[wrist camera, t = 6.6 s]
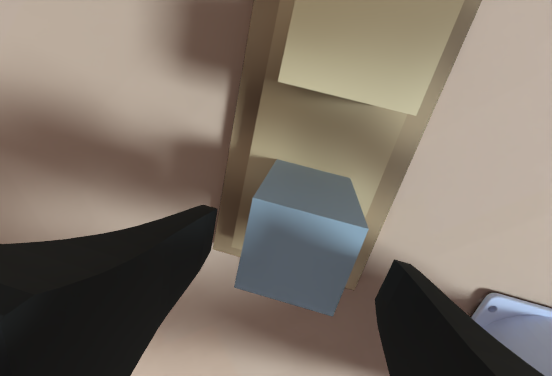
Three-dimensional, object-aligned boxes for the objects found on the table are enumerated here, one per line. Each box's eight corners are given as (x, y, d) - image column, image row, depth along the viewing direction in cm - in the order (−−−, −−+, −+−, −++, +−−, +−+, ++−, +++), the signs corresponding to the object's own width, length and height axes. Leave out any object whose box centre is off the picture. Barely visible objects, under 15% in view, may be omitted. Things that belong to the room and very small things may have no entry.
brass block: (375, 106, 12) (416, 116, 7) (294, 85, 13) (277, 81, 8) (411, 8, 11) (492, -66, 6) (317, -13, 11) (316, -101, 6)
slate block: (328, 241, 15) (332, 316, 10) (262, 222, 15) (234, 287, 10) (350, 178, 14) (368, 229, 9) (276, 159, 14) (252, 197, 9)
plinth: (352, 282, 18) (356, 304, 16) (216, 242, 19) (205, 259, 17) (498, -57, 11) (533, -85, 9) (275, -102, 12) (267, -138, 10)
